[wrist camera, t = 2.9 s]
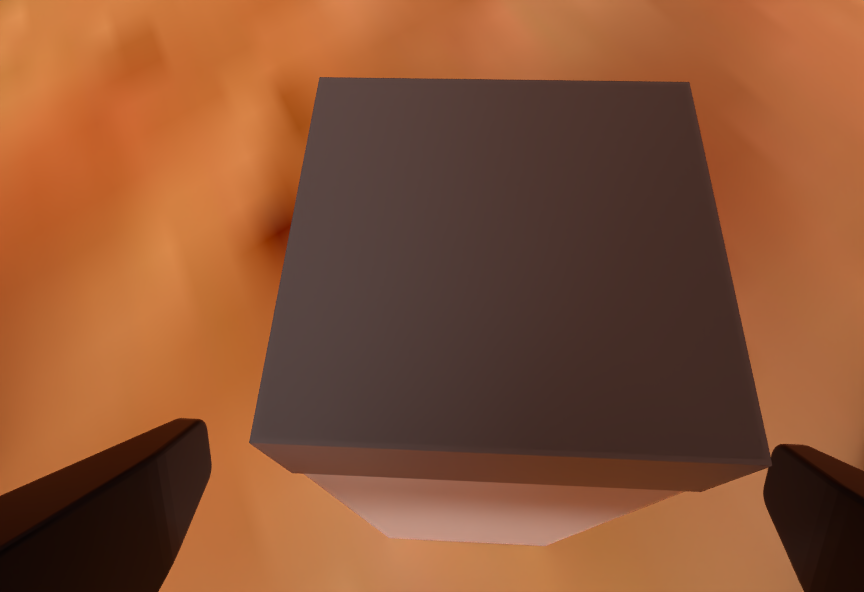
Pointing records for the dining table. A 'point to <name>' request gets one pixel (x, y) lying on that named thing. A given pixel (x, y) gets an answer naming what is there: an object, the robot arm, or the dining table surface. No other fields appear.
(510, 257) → the block
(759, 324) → the dining table surface
